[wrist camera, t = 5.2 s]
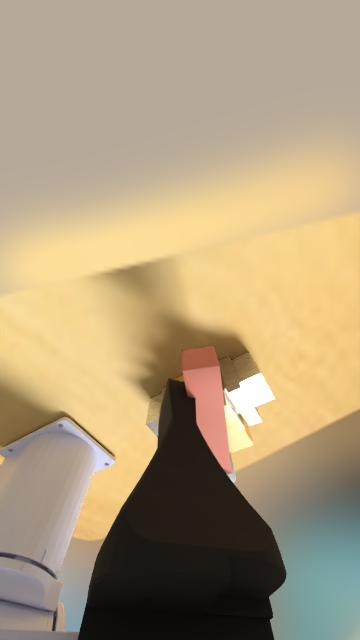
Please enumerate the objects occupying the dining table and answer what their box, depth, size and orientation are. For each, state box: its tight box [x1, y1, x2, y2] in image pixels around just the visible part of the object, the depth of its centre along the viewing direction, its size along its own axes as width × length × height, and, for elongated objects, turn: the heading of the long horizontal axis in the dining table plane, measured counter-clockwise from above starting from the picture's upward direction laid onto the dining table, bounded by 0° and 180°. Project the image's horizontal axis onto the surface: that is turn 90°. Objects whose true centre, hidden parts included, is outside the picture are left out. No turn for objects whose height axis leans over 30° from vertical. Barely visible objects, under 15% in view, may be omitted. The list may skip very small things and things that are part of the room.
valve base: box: [146, 352, 275, 453], centre depth 16 cm, size 10×4×6 cm, turn 121°
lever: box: [182, 346, 236, 483], centre depth 11 cm, size 9×2×2 cm, turn 10°
